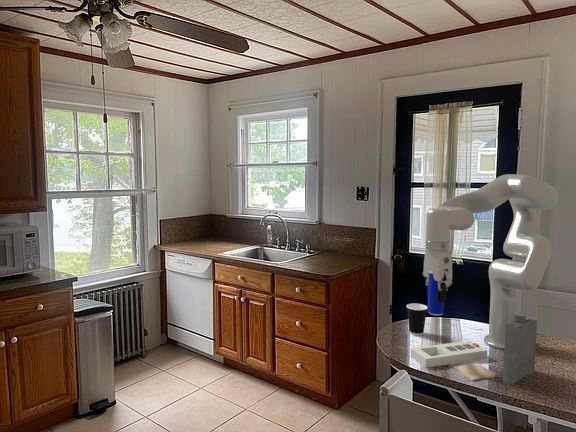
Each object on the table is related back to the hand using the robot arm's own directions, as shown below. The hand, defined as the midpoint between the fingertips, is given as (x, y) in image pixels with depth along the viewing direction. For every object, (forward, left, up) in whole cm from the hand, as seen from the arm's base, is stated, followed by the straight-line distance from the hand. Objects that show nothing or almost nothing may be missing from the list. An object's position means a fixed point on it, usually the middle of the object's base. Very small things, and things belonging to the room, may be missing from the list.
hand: (436, 299), depth 148 cm
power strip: (-6, 0, -21) cm, 22 cm away
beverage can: (0, 0, -5) cm, 5 cm away
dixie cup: (-8, -23, -21) cm, 32 cm away
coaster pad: (-7, +12, -21) cm, 25 cm away
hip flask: (-18, +18, -21) cm, 33 cm away
